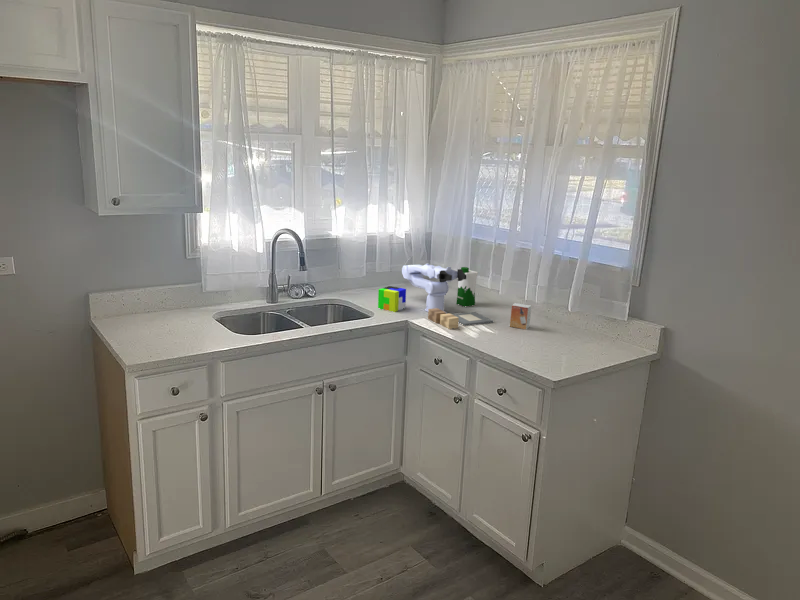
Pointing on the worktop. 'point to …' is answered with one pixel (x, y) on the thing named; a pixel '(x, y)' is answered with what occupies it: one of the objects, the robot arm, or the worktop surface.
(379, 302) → the puzzle toy
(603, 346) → the worktop surface
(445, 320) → the oak block
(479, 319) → the board
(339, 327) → the worktop surface
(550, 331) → the worktop surface
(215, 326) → the worktop surface
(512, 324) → the small box
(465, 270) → the milk carton
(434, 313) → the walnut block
